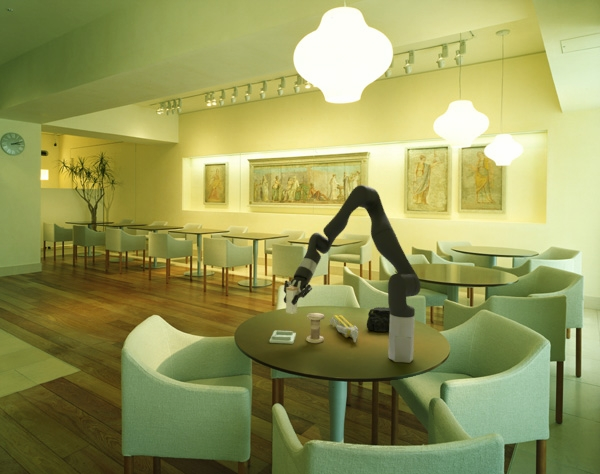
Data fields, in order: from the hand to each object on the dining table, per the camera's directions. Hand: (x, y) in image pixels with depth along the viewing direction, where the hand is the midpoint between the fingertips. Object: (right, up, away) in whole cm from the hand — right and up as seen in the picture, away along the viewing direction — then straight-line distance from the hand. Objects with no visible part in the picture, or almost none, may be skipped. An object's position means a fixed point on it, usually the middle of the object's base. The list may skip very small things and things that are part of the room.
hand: (289, 302), depth 177 cm
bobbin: (+11, -17, +4) cm, 21 cm away
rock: (+46, -16, +23) cm, 54 cm away
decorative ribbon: (+25, -17, +15) cm, 34 cm away
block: (+1, -4, +2) cm, 5 cm away
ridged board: (-3, -16, +5) cm, 18 cm away
